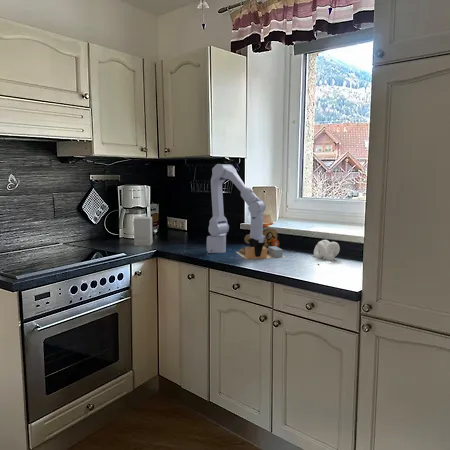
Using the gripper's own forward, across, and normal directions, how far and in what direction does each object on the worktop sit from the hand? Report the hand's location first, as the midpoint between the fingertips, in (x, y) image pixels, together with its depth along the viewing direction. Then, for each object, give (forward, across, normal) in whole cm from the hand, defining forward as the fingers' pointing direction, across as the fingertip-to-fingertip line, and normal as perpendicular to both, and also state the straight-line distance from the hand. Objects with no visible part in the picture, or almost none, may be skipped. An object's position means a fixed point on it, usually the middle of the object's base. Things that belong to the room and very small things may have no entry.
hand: (255, 255), depth 198 cm
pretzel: (+2, -6, -32) cm, 33 cm away
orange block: (+1, 0, 0) cm, 1 cm away
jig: (+2, +6, -4) cm, 7 cm away
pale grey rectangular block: (+1, +2, -10) cm, 11 cm away
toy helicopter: (+2, +25, -12) cm, 28 cm away
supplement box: (+2, +48, +49) cm, 69 cm away
